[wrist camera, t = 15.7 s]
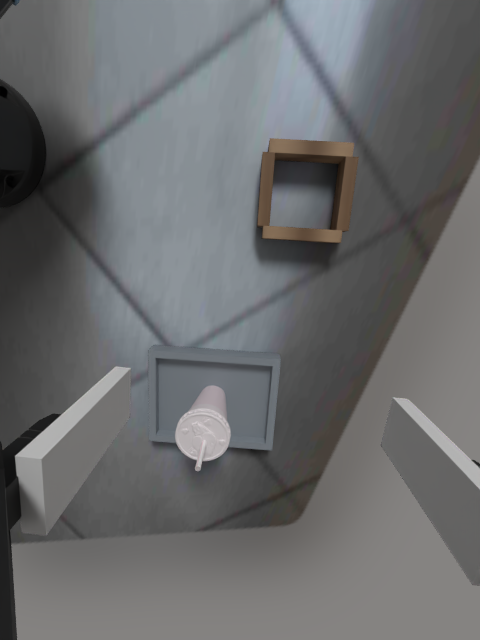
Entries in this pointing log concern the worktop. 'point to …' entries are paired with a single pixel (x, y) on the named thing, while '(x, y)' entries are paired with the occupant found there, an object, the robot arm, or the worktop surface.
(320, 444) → the worktop surface
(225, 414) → the smoothie
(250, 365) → the tray
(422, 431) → the robot arm
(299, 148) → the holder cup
